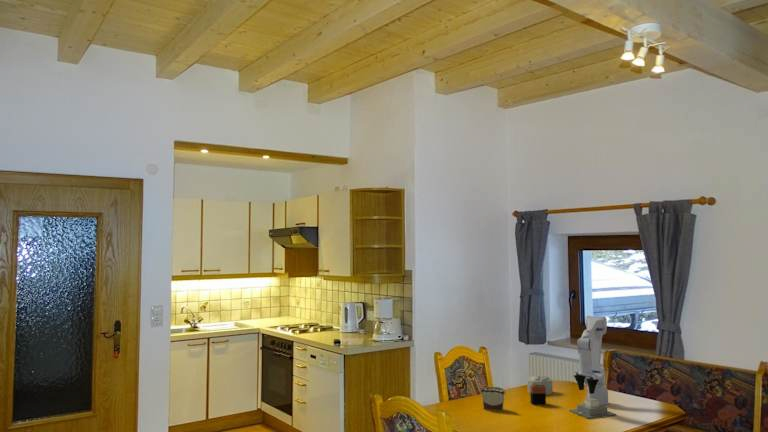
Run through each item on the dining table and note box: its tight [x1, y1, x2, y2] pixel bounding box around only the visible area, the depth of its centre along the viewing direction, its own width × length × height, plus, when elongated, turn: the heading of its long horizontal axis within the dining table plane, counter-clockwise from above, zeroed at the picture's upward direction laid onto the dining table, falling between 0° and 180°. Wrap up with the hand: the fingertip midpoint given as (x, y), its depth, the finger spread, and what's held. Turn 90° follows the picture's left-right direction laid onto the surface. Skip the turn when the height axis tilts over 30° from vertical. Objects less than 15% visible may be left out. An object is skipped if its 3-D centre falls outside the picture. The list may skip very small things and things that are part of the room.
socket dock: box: [568, 402, 617, 420], centre depth 276 cm, size 16×14×4 cm
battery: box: [529, 383, 547, 406], centre depth 294 cm, size 4×7×10 cm, turn 93°
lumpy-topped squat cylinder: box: [526, 374, 554, 396], centre depth 318 cm, size 10×13×9 cm
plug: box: [584, 397, 599, 408], centre depth 276 cm, size 5×4×6 cm
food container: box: [480, 386, 506, 412], centre depth 286 cm, size 12×6×10 cm, turn 65°
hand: (586, 391), depth 280 cm, fingers open, 7 cm apart
